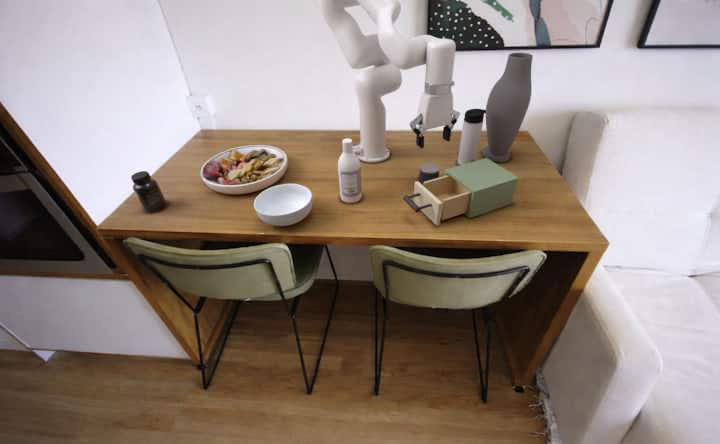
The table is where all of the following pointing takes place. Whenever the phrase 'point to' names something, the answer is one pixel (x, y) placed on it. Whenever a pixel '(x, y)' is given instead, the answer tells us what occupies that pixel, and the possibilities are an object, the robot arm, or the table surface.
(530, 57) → the vase
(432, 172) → the tin
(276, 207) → the cereal bowl
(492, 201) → the cabinet
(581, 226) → the table surface
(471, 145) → the travel mug
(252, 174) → the bowl
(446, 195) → the drawer
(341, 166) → the bath foam
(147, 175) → the supplement bottle
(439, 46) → the robot arm
